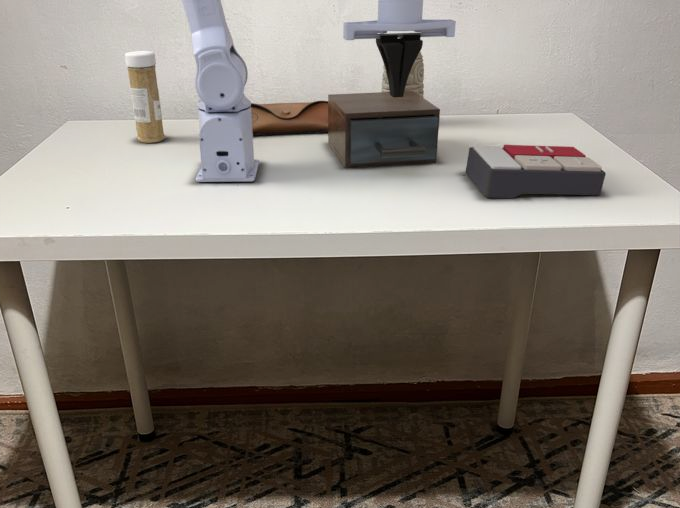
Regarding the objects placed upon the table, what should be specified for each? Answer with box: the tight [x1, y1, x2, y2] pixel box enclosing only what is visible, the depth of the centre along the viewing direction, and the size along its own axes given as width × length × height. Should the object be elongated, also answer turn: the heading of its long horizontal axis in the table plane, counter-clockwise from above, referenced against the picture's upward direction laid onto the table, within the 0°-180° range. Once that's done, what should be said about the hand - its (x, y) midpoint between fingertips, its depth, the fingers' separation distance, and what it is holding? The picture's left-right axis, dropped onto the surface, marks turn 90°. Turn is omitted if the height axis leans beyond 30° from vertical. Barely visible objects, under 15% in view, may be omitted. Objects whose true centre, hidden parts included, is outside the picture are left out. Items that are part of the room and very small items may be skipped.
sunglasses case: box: [251, 100, 328, 136], centre depth 120 cm, size 18×7×7 cm
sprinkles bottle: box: [124, 50, 166, 144], centre depth 112 cm, size 5×5×13 cm
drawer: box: [349, 115, 438, 164], centre depth 102 cm, size 18×12×6 cm
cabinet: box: [327, 91, 441, 169], centre depth 106 cm, size 14×14×8 cm
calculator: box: [465, 144, 607, 199], centre depth 93 cm, size 11×4×15 cm
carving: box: [381, 51, 425, 99], centre depth 121 cm, size 6×8×12 cm
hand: (396, 95), depth 96 cm, fingers closed
